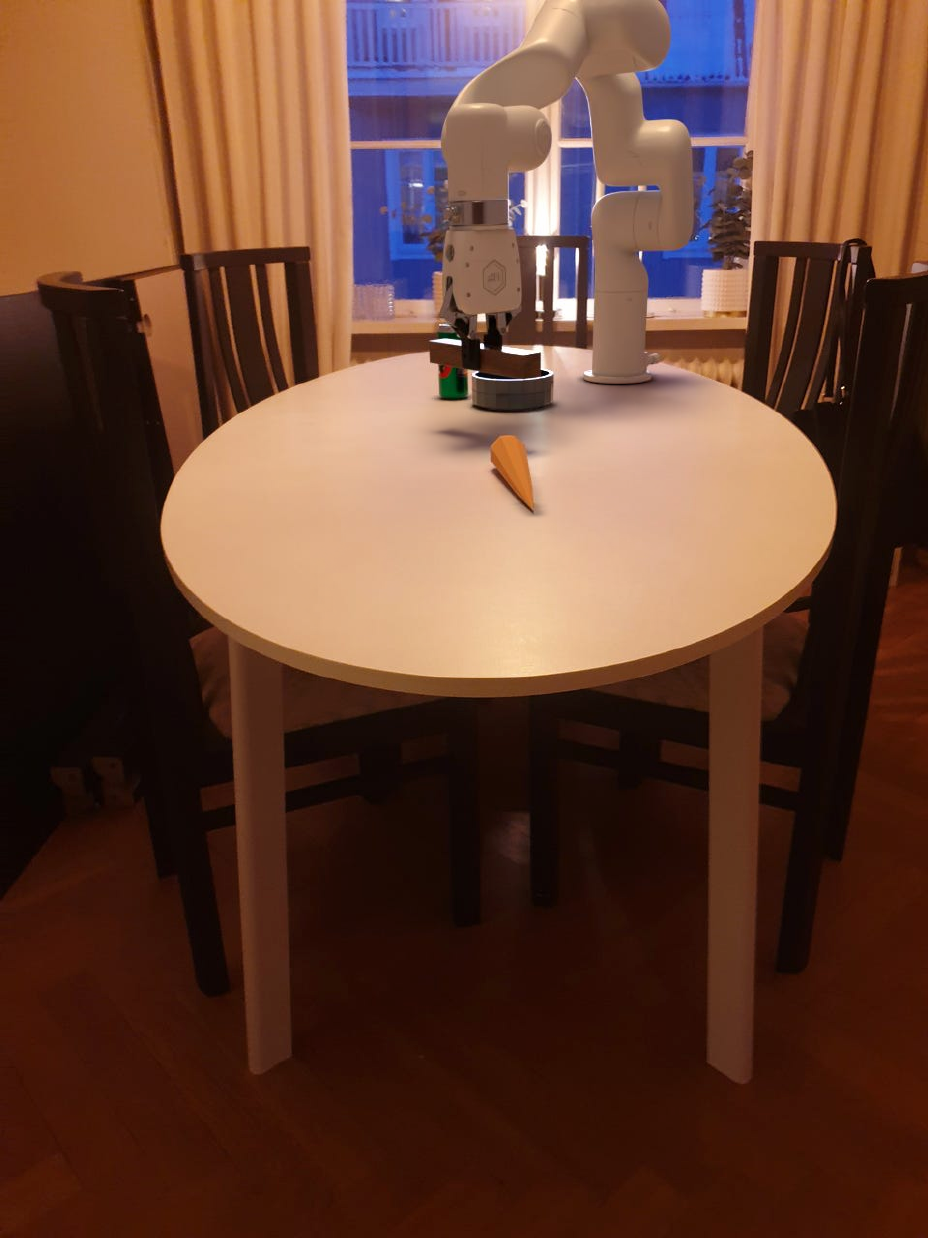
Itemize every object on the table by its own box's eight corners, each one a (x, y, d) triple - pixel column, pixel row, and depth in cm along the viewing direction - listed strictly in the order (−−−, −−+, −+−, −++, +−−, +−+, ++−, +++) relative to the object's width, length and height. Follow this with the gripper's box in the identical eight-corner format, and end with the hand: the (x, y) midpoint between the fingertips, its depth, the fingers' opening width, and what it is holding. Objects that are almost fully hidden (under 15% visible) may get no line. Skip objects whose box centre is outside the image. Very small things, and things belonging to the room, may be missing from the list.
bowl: (516, 394, 156) (516, 364, 154) (569, 404, 147) (570, 373, 144) (456, 404, 149) (455, 373, 147) (507, 416, 139) (507, 383, 137)
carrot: (495, 471, 112) (481, 439, 110) (528, 456, 111) (515, 423, 109) (521, 537, 95) (505, 501, 92) (561, 520, 94) (546, 483, 92)
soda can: (465, 400, 152) (463, 326, 147) (436, 400, 153) (433, 326, 148) (471, 395, 157) (469, 322, 152) (442, 394, 158) (440, 322, 153)
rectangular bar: (446, 360, 129) (445, 338, 127) (541, 376, 114) (541, 352, 113) (429, 362, 127) (428, 340, 126) (523, 379, 113) (523, 354, 111)
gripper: (444, 219, 106) (450, 378, 113) (547, 214, 115) (546, 362, 122) (408, 219, 111) (416, 372, 119) (509, 215, 120) (510, 357, 128)
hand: (482, 365), depth 121 cm, fingers closed on rectangular bar, 3 cm apart
